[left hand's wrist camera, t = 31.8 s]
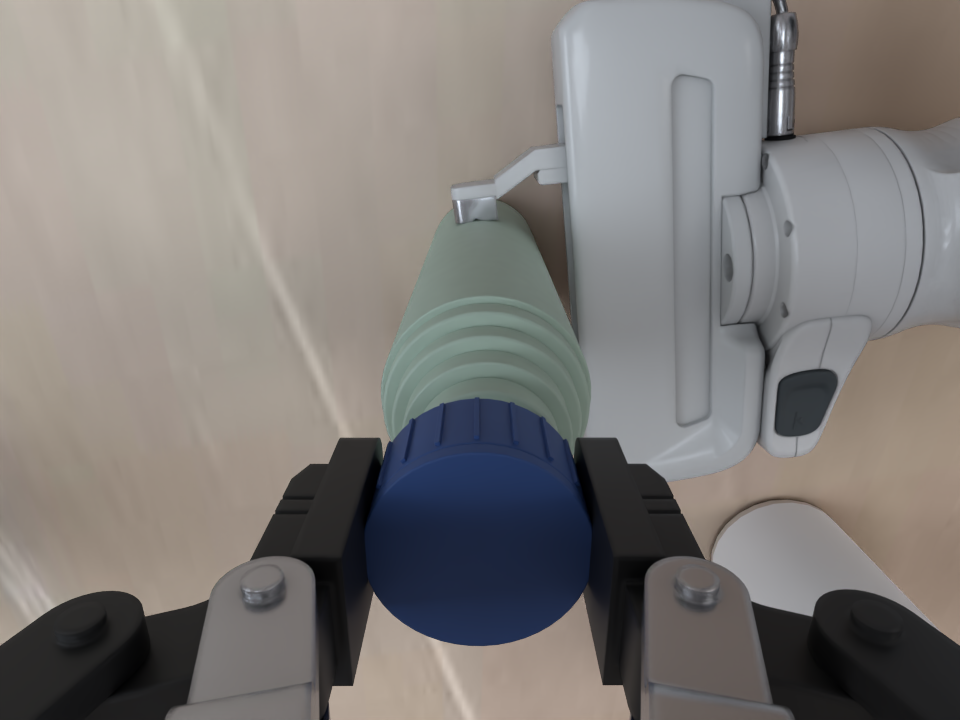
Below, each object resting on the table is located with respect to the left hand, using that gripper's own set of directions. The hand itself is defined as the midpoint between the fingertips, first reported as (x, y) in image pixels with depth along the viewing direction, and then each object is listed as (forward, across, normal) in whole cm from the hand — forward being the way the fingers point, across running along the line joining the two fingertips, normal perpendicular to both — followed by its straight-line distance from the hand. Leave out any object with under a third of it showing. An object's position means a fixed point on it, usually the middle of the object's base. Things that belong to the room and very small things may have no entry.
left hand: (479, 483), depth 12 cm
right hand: (+17, -1, 0) cm, 17 cm away
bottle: (+24, 0, 0) cm, 24 cm away
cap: (-2, 0, 0) cm, 2 cm away
